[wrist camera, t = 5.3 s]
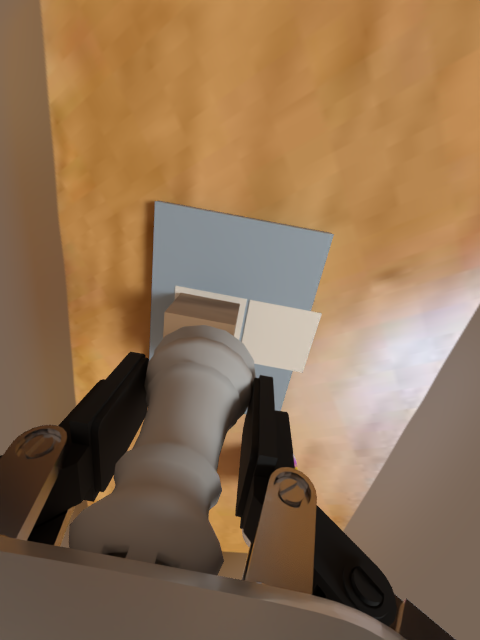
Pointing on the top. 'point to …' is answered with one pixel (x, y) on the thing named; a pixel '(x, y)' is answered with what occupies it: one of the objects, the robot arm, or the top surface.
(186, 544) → the rook chess piece
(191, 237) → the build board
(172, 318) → the walnut block
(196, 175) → the top surface
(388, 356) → the top surface
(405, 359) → the top surface
